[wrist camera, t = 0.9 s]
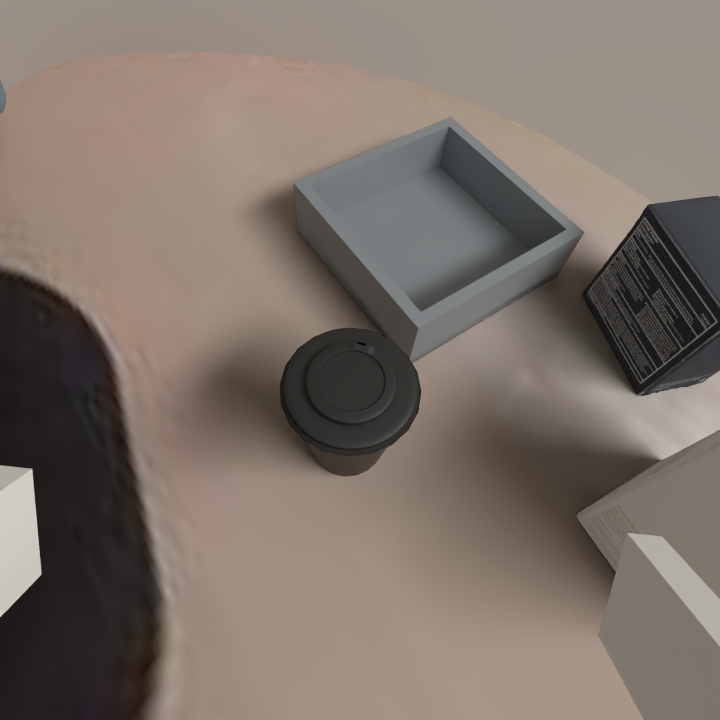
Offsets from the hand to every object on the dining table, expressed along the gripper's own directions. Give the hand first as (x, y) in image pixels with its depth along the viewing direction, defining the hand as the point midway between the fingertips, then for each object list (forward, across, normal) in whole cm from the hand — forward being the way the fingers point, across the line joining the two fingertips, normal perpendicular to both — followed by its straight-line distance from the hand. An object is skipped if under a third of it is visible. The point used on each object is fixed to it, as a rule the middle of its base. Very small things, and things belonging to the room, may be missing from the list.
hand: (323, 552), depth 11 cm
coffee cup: (+24, 0, -8) cm, 25 cm away
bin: (+37, +5, +5) cm, 37 cm away
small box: (+32, +24, 0) cm, 40 cm away
